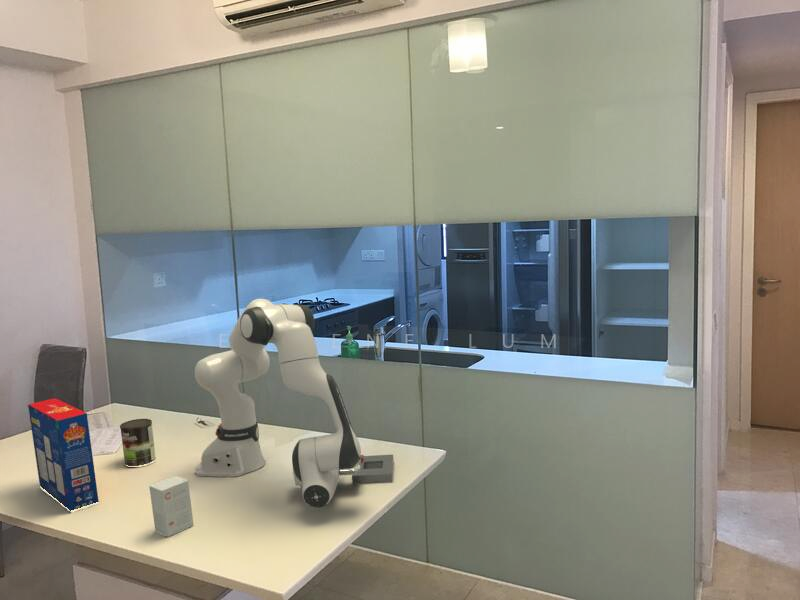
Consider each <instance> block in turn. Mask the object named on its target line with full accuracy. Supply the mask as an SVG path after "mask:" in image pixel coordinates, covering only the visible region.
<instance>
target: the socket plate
mask: <svg viewBox="0 0 800 600" xmlns="http://www.w3.org/2000/svg"><path fill="white" fill-rule="evenodd" d="M394 464H395V462H394V454H380V455H379V454H378V455H364V454H361V469H360V471H358V473H356V474H354V475H351V480H352V481H351V482H352V485H359V484H361V485H362V484H376V483H377V484H378V483H380V484H381V483H392V482H393V478H394Z"/></svg>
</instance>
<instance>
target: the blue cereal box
mask: <svg viewBox="0 0 800 600" xmlns="http://www.w3.org/2000/svg"><path fill="white" fill-rule="evenodd" d="M27 407H28V408H27V409H28V413H29V414H28V415H29V421H30V426H31V434H32V442H33V449H34V455H35V461H36V468H37V475H38V482H39V487H40V486H41V487H42V488H43V489H45V490H46V491H47V492H48V493H49V494H51V495H52V496H53V497H54V498H56V499H57V500H58V501H59V502H60V503H62V504H63V505H64V506H65V507H67V508H68V509H69V510H70V511H71V510H74V509H78V508H81V507H83V506H87V505H90V504H93V503H96V502H99V495H98V487H97V480H96V473H95V465H94V457H93V449H92V442H91V434H90V427H89V420H88V413H87V412H85V411H83V410H81V409H78V408H77V407H74V405H73V406H72V405H70V404H69V403H67V402H64V401H62V400H60V399H58V398H50V399H46V400H41V401H36V402H33V403H28V404H27ZM99 503H100V502H99Z"/></svg>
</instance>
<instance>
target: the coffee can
mask: <svg viewBox="0 0 800 600" xmlns="http://www.w3.org/2000/svg"><path fill="white" fill-rule="evenodd" d="M152 423H153V420H152V419H149V418H135V419H131V420H128V421H124V422H122V423H121V424H120V425H119V429H120V433H121V441H122V450H123V452H122V453H123V458H124V465H125V464H126V465H128V466H139V465H144V464H148V463H150V462H152V461H154V460H155V459H156V460H157V457H156V452H155V451H156V449H155V441H154V432H153V424H152Z"/></svg>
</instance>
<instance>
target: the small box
mask: <svg viewBox="0 0 800 600" xmlns="http://www.w3.org/2000/svg"><path fill="white" fill-rule="evenodd" d="M149 493H150V494H149V496H150V500H151V501H150V502H151V509H152V516H153V524H154V531H155V532H156V531H157V532H159V533H161V534H160V535H162V534H163V535H162V536H164V535H165V536H164V537H166V536H167V537H166V538H169V537H171V535H172V536H173V534H174V535H176V534H178V533H180V532H182V531H185V530H186V529H189V528H190V527H193V526H194V519H193V510H192V509H193V508H192V501H191V493H190V485H189V480H188V479H186V478H184V477H181V476H178V475H173V476H171V477H169V478H167V479H163V480H162V481H159V482H156V483H153V484H151V485H149ZM157 532H156V533H157ZM159 533H158V534H159Z"/></svg>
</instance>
